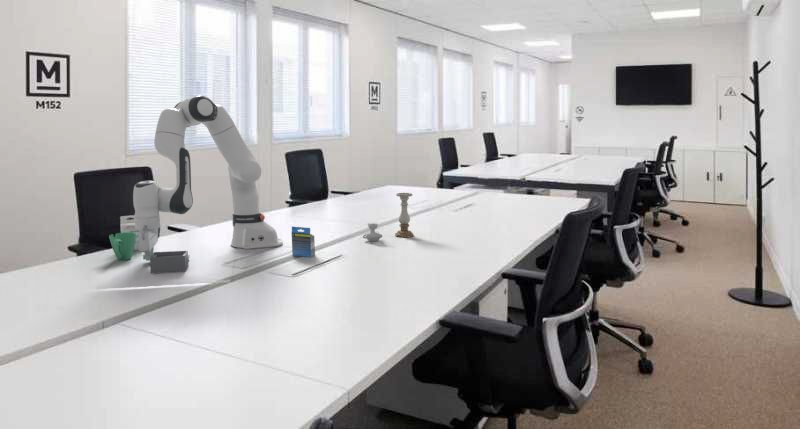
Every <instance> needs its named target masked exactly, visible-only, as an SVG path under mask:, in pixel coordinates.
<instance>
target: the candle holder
mask: <svg viewBox="0 0 800 429" xmlns="http://www.w3.org/2000/svg"><path fill="white" fill-rule="evenodd" d="M395 196H396V197H399V199H400V201H401V203H400V206H401V212H400V215H399V216H398V222H399V223H400V224H399V228H400V230H397V231H396V233H395V234H394V235H395V237H398V238H412V237H414V232H412V230H409V227H410V224H409V223H410V221H411V217H410V214H409V212H408V205H409V203H408V200H409V199H410V197H412V196H413V193H411V192H399V193H396V194H395Z"/></svg>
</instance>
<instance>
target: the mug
mask: <svg viewBox="0 0 800 429" xmlns="http://www.w3.org/2000/svg"><path fill="white" fill-rule="evenodd" d="M108 238H109V241H110V244H111V247H112V250H113V253H114V255H115V257H116V259H117V260H118V261H121V262H122V261H128V260H129V259H130V260H131V259H132V257H133V253H134V251H133V250H134V246H135V240H136V234H135V233H121V232H117V233H115V234H112V233H111V234H109V235H108Z"/></svg>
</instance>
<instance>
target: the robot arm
mask: <svg viewBox="0 0 800 429" xmlns="http://www.w3.org/2000/svg"><path fill="white" fill-rule="evenodd" d="M200 124H203V126H205V128H207V130H208V132H209V134H210V136H211V138H212V140H213V141H214V143H215V145H216V147H217V149H218V151H219V153H220V154H221V155H222V157H223V158H224V160H225V161H226V163H227V164H228V167H227V170H228V176H229V182H230V189H231V190H230V191H231V194H232V195H231V196H232V212H233V213H232V216H231V222H232V223H231V224H232V227H233V231H232V239H231V243H230V246H231V247H234V248H238V249H240V248H241V249H244V250H249V249H261V248H271V247H274V248H275V247H280V246H282V245H283V244H284V243H283V240H282V239H281V238H278V233H277V230H276V229H275V227H273V226H271V225H270V224H269V223H267V222H266V221H264V220H265V218H266V217H265V215H264V214H263V213H261V212H260V207H259V204H260V203H259V201H260V200H259V194H258V191H257V186H256V182H257V181H258V180H259V179H260V177H261V176H262V168H261V165H260V164H259V162H258V160H257V159H256V157H255V156H254V154H253V153H252V151H251V150H250V148H249V146H248V145H247V144H246V142H245V141H244V139H243V137H242V135H241V134H240V131H239V130H238V128H237V126H236V124H235V122H234V121H233V118H232V117H231V116H230V114H229V112H228V111H227V110H226V108H225V107H223V105H220V104H215V103H214V102H213V100H211V98H209V97H208V96H206V95H196V96H193V97H192V96H191V97H189V98H185V99H184V100H183V101H179V102H178V103H176V104H175V106H174V107H173V108H170V107H169V108H165V109H163V110H162V111H161V112H160V115H159V118H158V120H157V124H156V128H155V134H154V140H153V141H154V149H155V150H156V152H157V153H158V154H159V155H161V156H162V157H164V158H165V159H168V160H170V161H171V162H173V164H174V165H175V169H176V171H175V172H176V173H175V174H176V175H175V176H176V185H175V187H173V188H172V187H162V186H160V185H157V184H156V182H155V181H154V180H143V181H142V180H141V181H139V182H137V183H135V184H134V186H133V190H132V191H133V193H132V199H133V200H132V201H133V208H134V214H133V215H134V218H135V229H137V230H139V250H138V252H140V253H144V254H145V256H146V259H145V261H146V262H147V261H149V262H150V257H151V253H154V250H155V249H154V248H155V247H154V246H156V244H157V243H158V240H159V229H160V228H161V222H160V221H161V220H160V213H170V214H171V213H173V214H176V215H177V214H179V215H185V214H186V213H188V211H190V209H191V208H192V206H193V204H194V198H193V192H192V170H191V168H192V167H191V155H190V153H189V151H188V149H186V146H185V137H186V136H185V135H186V130H187V128H190V127H194V126H198V125H200ZM159 212H160V213H159ZM134 218H133V219H134ZM282 243H283V244H282Z"/></svg>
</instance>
